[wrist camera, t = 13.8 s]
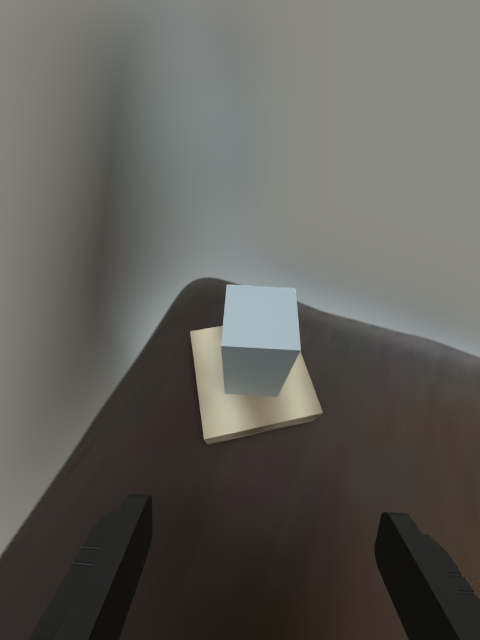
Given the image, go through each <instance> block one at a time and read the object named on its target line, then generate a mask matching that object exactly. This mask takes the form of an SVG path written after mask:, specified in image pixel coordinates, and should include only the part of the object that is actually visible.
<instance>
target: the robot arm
mask: <svg viewBox="0 0 480 640" xmlns="http://www.w3.org/2000/svg"><path fill="white" fill-rule="evenodd" d="M151 538H152V497H151V495H136V494H129V495H128V496H127V497H126V499H125V501H124V503H123V505H122V507H121V509H120V511H119V512H108V513H107V514H106V515H105V516H104V517H103V518H102V519H101V520H100V521H99V522H98V523H97V524H96V525H95V526H94V527H93V529H92V531H91V532H90V534H89V536H88V538H87V539H86V541H85V543H84V545H83V548H82V549H81V550H80V551H79V553H78V555H77V557H76V558H75V560H74V563H73V565H72V566H71V567H70V569H69V571H68V572H67V574H66V576H65V577H64V579H63V581H62V583H61V584H60V586H59V588H58V590H57V591H56V593H55V595H54V597H53V598H52V600H51V602H50V603H49V605H48V607H47V609H46V610H45V612H44V614H43V616H42V617H41V619H40V621H39V623H38V624H37V626H36V628H35V629H34V631H33V633H32V634H31V636H30V638H29V639H28V640H119V638H120V635H121V632H122V629H123V626H124V623H125V620H126V617H127V614H128V611H129V608H130V605H131V602H132V599H133V596H134V593H135V590H136V587H137V584H138V581H139V578H140V575H141V572H142V569H143V566H144V564H145V561H146V558H147V555H148V551H149V548H150V544H151ZM375 558H376V562H377V566H378V569H379V571H380V574H381V576H382V578H383V581H384V583H385V585H386V588H387V590H388V592H389V595H390V597H391V599H392V602H393V604H394V606H395V609H396V611H397V613H398V616H399V618H400V620H401V622H402V625H403V627H404V629H405V632H406V634H407V636H408V639H409V640H480V600H479V598H478V597H477V596H475V595H474V592H473V590H472V588H471V587H470V585H469V584H468V582H467V581H466V579H465V578H464V577H462V575H461V572H460V571H459V569H458V568H457V566H456V565H455V564H454V562H453V561H452V559H451V558H450V556H449V555H448V553H447V552H446V551H445V550H444V549H443V548H442V547H441V546H440V545H439V544H438V543H437V542H436V541H435V540H433V539H432V538H431V537H430V536H429V535H425V534H422V533H421V532H420V530H419V529H418V527H417V525H416V524H415V522H414V521H413V519H412V518H411V517H410V516H409V515H408V514H403V513H388V512H384V513H382V515H381V519H380V524H379V528H378V533H377V538H376V543H375Z"/></svg>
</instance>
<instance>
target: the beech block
mask: <svg viewBox="0 0 480 640" xmlns="http://www.w3.org/2000/svg"><path fill="white" fill-rule="evenodd" d="M222 330H223V326H219V327H213V328H208V329H202V330H196V331H190V333H191V341H192V349H193V357H194V365H195V372H196V380H197V388H198V396H199V404H200V411H201V419H202V427H203V435H204V440H205V442H206V443H207V445H209V444H213V443H218V442H222V441H227V440H231V439H235V438H240V437H244V436H249V435H253V434H257V433H262V432H266V431H271V430H275V429H279V428H284V427H288V426H293V425H297V424H302V423H306V422H310V421H314V420H315V419H316V418H317V417H318V416H320V415H321V414H322V413H323V411H322V409H321V406H320V403H319V401H318V398H317V395H316V392H315V390H314V387H313V384H312V382H311V379H310V376H309V373H308V371H307V368H306V365H305V363H304V360H303V357H302V355H301V352H300V353H299V355H298V357H297V359H296V361H295V363H294V365H293V367H292V369H291V371H290V373H289V375H288V377H287V379H286V381H285V383H284V385H283V387H282V389H281V391H280V393H279V395H278V397H273V396H256V395H238V394H225V389H224V377H223V365H222V352H221V341H222Z"/></svg>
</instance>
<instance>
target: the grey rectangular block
mask: <svg viewBox="0 0 480 640" xmlns="http://www.w3.org/2000/svg"><path fill="white" fill-rule="evenodd" d="M300 351H301V347H300V335H299V323H298V311H297V300H296V289H295V288H281V287H262V286H261V287H260V286H243V285H227V290H226V300H225V310H224V320H223V330H222V341H221V352H222V365H223V377H224V389H225V394H238V395H256V396H273V397H278V395H279V393H280V391H281V389H282V387H283V385H284V383H285V381H286V379H287V377H288V375H289V373H290V371H291V369H292V367H293V365H294V363H295V361H296V359H297V357H298V355H299V353H300Z"/></svg>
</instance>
